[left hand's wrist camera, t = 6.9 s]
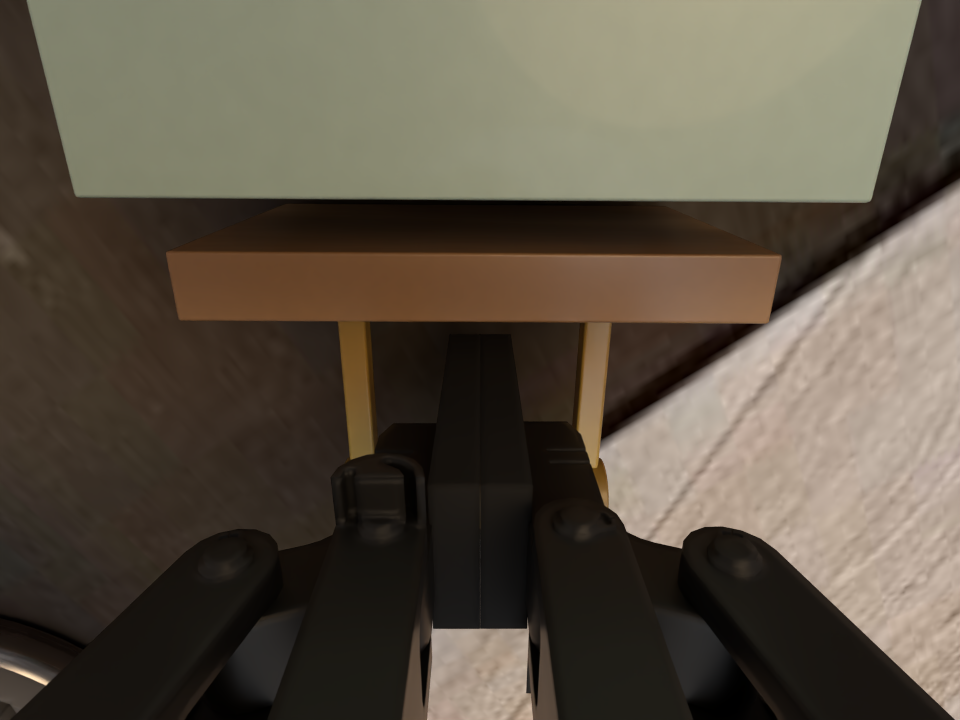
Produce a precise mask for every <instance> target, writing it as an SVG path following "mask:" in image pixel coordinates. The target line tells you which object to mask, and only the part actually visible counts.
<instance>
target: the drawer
mask: <svg viewBox="0 0 960 720" xmlns="http://www.w3.org/2000/svg"><path fill="white" fill-rule="evenodd" d="M166 258H167V263H168V268H169V273H170V278H171V283H172V288H173V293H174V298H175V303H176V308H177V313H178V318H179V320H182V321H338V330H339V341H340V353H341V364H342V375H343V386H344V397H345V408H346V419H347V430H348V441H349V452H350V457H349V458H347V460H346V462H348V461H350V460H352V459H355V458H358V457H361V456H364V455H367V454H374V453H375V448H376V445H377V442H378V434H377V419H376V405H375V390H374V375H373V361H372V346H371V331H370V322H577V323H580V330H579V343H578V356H577V370H576V383H575V396H574V409H573V423H572V427H574V428H575V429H576V430H577V431H578V432H579V433H580V434H581V435H582V438H583V441H584V444H585V447H586V452H587V454H588V457H589V460H590V464H591V466H592V469H593V472H594V475H595V478H596V481H597V484H598V487H599V490H600V493H601V496H602V499H603V502H604V505H605V506H606V507H607V508H608V505H609V495H608V482H607V475H606V470H605V466H604V463H603V461H602V460H601V459H600V458H599V449H600V439H601V429H602V418H603V408H604V398H605V387H606V377H607V367H608V356H609V346H610V336H611V325H612V323H768V321H769V317H770V312H771V307H772V303H773V298H774V293H775V288H776V283H777V278H778V273H779V268H780V263H781V258H782V257H781V255H780V254H777V253H775V252H773V251H770V250H768V249H766V248H763V247H761V246H758V245H756V244H754V243H751V242H749V241H747V240H744V239H742V238H739V237H737V236H735V235H732V234H730V233H728V232H725V231H723V230H720V229H718V228H716V227H713V226H711V225H709V224H706V223H704V222H701V221H699V220H697V219H694V218H692V217H690V216H687V215H685V214H682V213H680V212H678V211H675V210H673V209H671V208H668V207H666V206H556V205H393V204H284V205H281V206H279V207H276V208H274V209H271V210H269V211H266V212H264V213H262V214H259V215H257V216H254V217H252V218H249V219H247V220H244V221H242V222H239V223H237V224H234V225H232V226H229V227H227V228H224V229H222V230H219V231H217V232H214V233H212V234H209V235H207V236H204V237H202V238H199V239H197V240H194V241H192V242H189V243H187V244H184V245H182V246H179V247H177V248H174V249H172V250H169V251H167V252H166ZM346 462H345V463H346Z"/></svg>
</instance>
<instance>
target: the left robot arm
mask: <svg viewBox="0 0 960 720" xmlns="http://www.w3.org/2000/svg"><path fill="white" fill-rule="evenodd" d="M331 485H332V493H333V502H334V511H335V520H336V527H335V530H334V533H333V535H331V536H329V537H327V538H325V539H323V540H321V541H318V542H315V543H311V544H308V545H304V546H299V547H295V548H290V549H286V550H281V551H278V545H277V542H276V541H275V540H274V539H273V538H272V537H271V536H270V535H269V534H267V533H264V532H261V531H258V530H254V529H236V530H231V531H227V532H222V533H218V534H216V535H214V536H211V537H209V538H207V539H204V540H202V541H200V542H199V543H197V544H196V545H195V546H193V547H192V548H190V549H189V550H188V551H186V552H185V553H184V554H183V555H182V556H181V557H180V558H179V559H178V560H177V561H176V562H174V563H173V564H172V565H171V566H170V567H169V568H168V569H167V570H166V571H165V572H164V573H163V574H162V575H161V576H160V577H159V578H158V579H157V580H156V581H155V582H154V583H153V584H151V585H150V586H149V587H148V588H147V589H146V590H145V591H144V592H143V593H142V594H141V595H140V596H139V597H138V598H137V599H136V600H135V601H134V602H133V603H132V604H131V605H130V606H128V607H127V608H126V609H125V610H124V611H123V612H122V613H121V614H120V615H119V616H118V617H117V618H116V619H115V620H114V621H113V622H112V623H111V624H110V625H109V626H108V627H107V628H105V629H104V630H103V631H102V632H101V633H100V634H99V635H98V636H97V637H96V638H95V639H94V640H93V641H92V642H91V643H90V644H89V645H88V646H87V647H86V648H85V649H84V650H83V649H81V648H79V647H77V646H75V645H73V644H71V643H69V642H67V641H65V640H63V639H61V638H58V637H56V636H54V635H51V634H49V633H46V632H44V631H41V630H38V629H36V628H33V627H29V626H26V625H23V624H20V623H17V622H13V621H9V620H5V619H1V618H0V720H427V712H428V700H429V688H430V677H431V665H432V643H431V631H432V621H433V629H527V618H528V626H529V643H528V667H527V690H526V693H531V699H532V711H533V720H955V719H954V718H952V717H951V716H950V715H949V714H948V713H947V712H946V711H945V710H944V709H943V708H942V707H941V706H940V705H939V704H938V703H937V702H936V701H935V700H934V699H932V698H931V697H930V696H929V695H928V694H927V693H926V692H925V691H924V690H923V689H922V688H921V687H920V686H919V685H918V684H917V683H916V682H915V681H914V680H912V679H911V678H910V677H909V676H908V675H907V674H906V673H905V672H904V671H903V670H902V669H901V668H900V667H899V666H898V665H897V664H896V663H895V662H893V661H892V660H891V659H890V658H889V657H888V656H887V655H886V654H885V653H884V652H883V651H882V650H881V649H880V648H879V647H878V646H877V645H876V644H875V643H873V642H872V641H871V640H870V639H869V638H868V637H867V636H866V635H865V634H864V633H863V632H862V631H861V630H860V629H859V628H858V627H857V626H856V625H854V624H853V623H852V622H851V621H850V620H849V619H848V618H847V617H846V616H845V615H844V614H843V613H842V612H841V611H840V610H839V609H838V608H837V607H836V606H834V605H833V604H832V603H831V602H830V601H829V600H828V599H827V598H826V597H825V596H824V595H823V594H822V593H821V592H820V591H819V590H818V589H817V588H816V587H814V586H813V585H812V584H811V583H810V582H809V581H808V580H807V579H806V578H805V577H804V576H803V575H802V574H801V573H800V572H799V571H798V570H797V569H795V568H794V567H793V566H792V565H791V564H790V563H789V562H788V561H787V560H786V559H785V558H784V557H783V556H782V555H781V554H780V553H779V552H778V551H777V550H775V549H774V548H773V547H771V546H770V545H768V544H767V543H766V542H764V541H763V540H762V539H760V538H758V537H755V536H753V535H751V534H748V533H746V532H744V531H741V530H736V529H732V528H727V527H704V528H701V529H698V530H695V531H692V532H691V533H690V534H689V535H688V536H687V537H686V538H685V540H684V541H683V547H682V549H681V548H676V547H672V546H667V545H663V544H658V543H654V542H650V541H647V540H644V539H640V538H638V537H636V536H634V535H632V534H630V533H628V532H626V529H625V526H624V524H623V523H622V521H621V520H620V518H619V517H618V515H617V514H616V513H615V512H613V511H612V510H610V509H609V508H607V507H606V506H605V505H604V502H603V499H602V496H601V493H600V490H599V487H598V484H597V481H596V478H595V475H594V472H593V469H592V466H591V464H590V460H589V457H588V454H587V452H586V447H585V444H584V441H583V438H582V435H581V434H580V433H579V432H578V431H577V430H576V429H575V428H574V427H572V426H571V425H570V424H569V423H568V422H523V416H522V409H521V402H520V395H519V389H518V382H517V375H516V368H515V361H514V355H513V348H512V341H511V334H450V336H449V343H448V350H447V357H446V364H445V370H444V377H443V384H442V391H441V397H440V404H439V411H438V418H437V423H394V424H392V425H391V426H390V427H389V428H388V429H387V430H386V431H384V432H383V433H382V434H381V435H380V436H379V439H378V442H377V445H376V448H375V453H374V454H367V455H364V456H361V457H358V458H355V459H352V460H350V461H348V462H346V463H345V464H343V465H342V466H340V467H338V469H337V470H336V471H335V472H334V474H333V475H332V476H331Z"/></svg>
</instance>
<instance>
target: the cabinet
mask: <svg viewBox="0 0 960 720" xmlns="http://www.w3.org/2000/svg"><path fill="white" fill-rule="evenodd" d="M921 1H922V0H27V4H28V8H29V12H30V16H31V20H32V24H33V28H34V32H35V36H36V40H37V44H38V48H39V52H40V57H41V61H42V65H43V69H44V73H45V77H46V81H47V85H48V89H49V93H50V97H51V101H52V105H53V109H54V113H55V117H56V121H57V125H58V129H59V133H60V137H61V141H62V145H63V149H64V153H65V157H66V161H67V165H68V169H69V173H70V177H71V181H72V185H73V189H74V193H75V195H76V196H77V197H80V198H208V199H370V200H531V201H692V202H853V203H866V202H869V201H870V200H871V198H872V194H873V190H874V187H875V183H876V179H877V175H878V171H879V167H880V163H881V159H882V155H883V151H884V147H885V143H886V139H887V135H888V131H889V127H890V123H891V119H892V115H893V111H894V107H895V103H896V99H897V96H898V92H899V88H900V84H901V80H902V76H903V72H904V68H905V64H906V60H907V56H908V52H909V48H910V44H911V40H912V36H913V32H914V28H915V24H916V20H917V16H918V12H919V8H920V5H921Z"/></svg>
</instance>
